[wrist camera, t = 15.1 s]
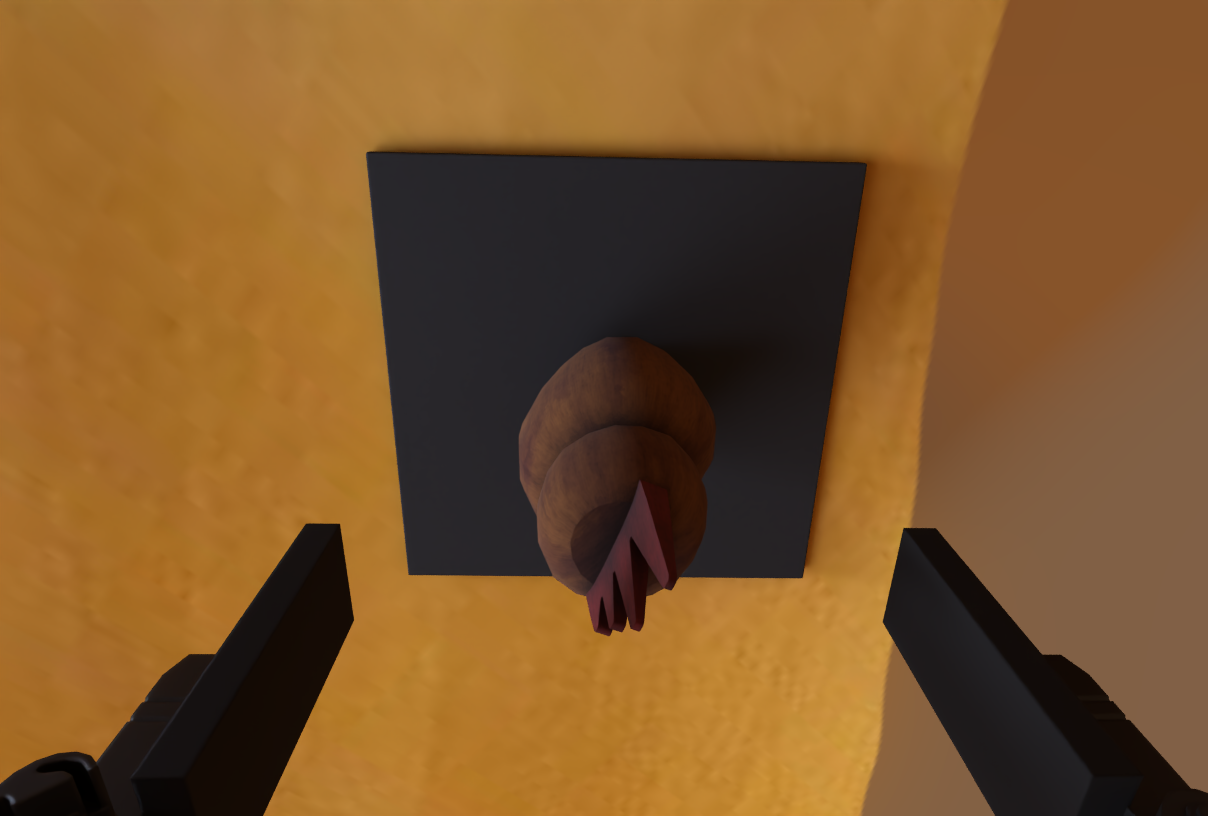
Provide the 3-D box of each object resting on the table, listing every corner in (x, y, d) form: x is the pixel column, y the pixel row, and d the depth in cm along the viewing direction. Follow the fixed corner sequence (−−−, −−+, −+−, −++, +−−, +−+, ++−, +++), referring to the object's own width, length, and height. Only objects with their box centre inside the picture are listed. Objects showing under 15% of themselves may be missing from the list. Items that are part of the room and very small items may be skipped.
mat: (411, 567, 32) (408, 575, 31) (370, 151, 25) (365, 152, 25) (799, 571, 32) (803, 579, 32) (862, 162, 26) (868, 163, 25)
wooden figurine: (620, 285, 27) (652, 460, 13) (721, 384, 28) (847, 636, 14) (503, 403, 28) (417, 671, 14) (603, 490, 30) (613, 807, 16)
